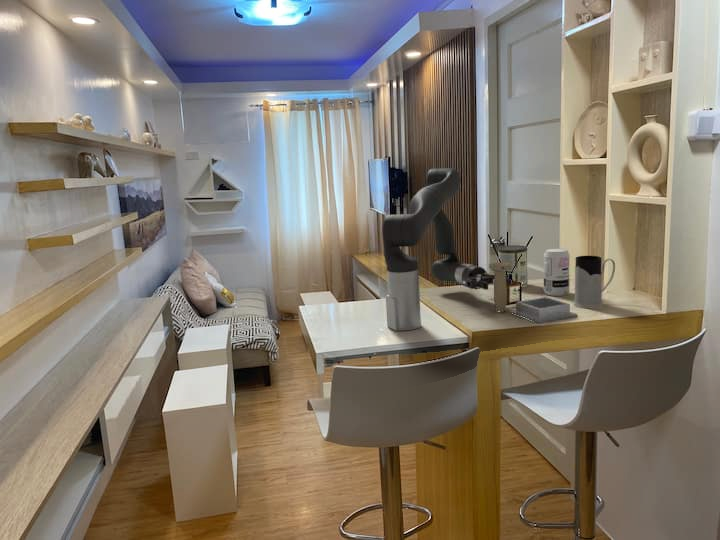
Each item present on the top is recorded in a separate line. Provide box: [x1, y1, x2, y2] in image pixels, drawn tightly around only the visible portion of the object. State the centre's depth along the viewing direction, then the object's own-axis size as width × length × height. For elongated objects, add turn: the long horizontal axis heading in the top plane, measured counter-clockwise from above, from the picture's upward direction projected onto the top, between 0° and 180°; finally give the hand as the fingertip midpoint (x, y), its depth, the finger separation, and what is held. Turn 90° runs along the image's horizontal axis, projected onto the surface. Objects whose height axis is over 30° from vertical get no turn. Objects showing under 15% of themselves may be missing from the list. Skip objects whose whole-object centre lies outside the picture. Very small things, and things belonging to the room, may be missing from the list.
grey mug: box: [572, 255, 616, 309], centre depth 188 cm, size 9×14×15 cm, turn 108°
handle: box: [488, 262, 511, 313], centre depth 186 cm, size 5×6×15 cm
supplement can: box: [543, 248, 570, 297], centre depth 203 cm, size 8×8×15 cm
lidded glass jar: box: [497, 244, 529, 289], centre depth 219 cm, size 10×10×14 cm
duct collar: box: [508, 296, 578, 325], centre depth 180 cm, size 14×14×4 cm
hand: (499, 284), depth 186 cm, fingers open, 8 cm apart
